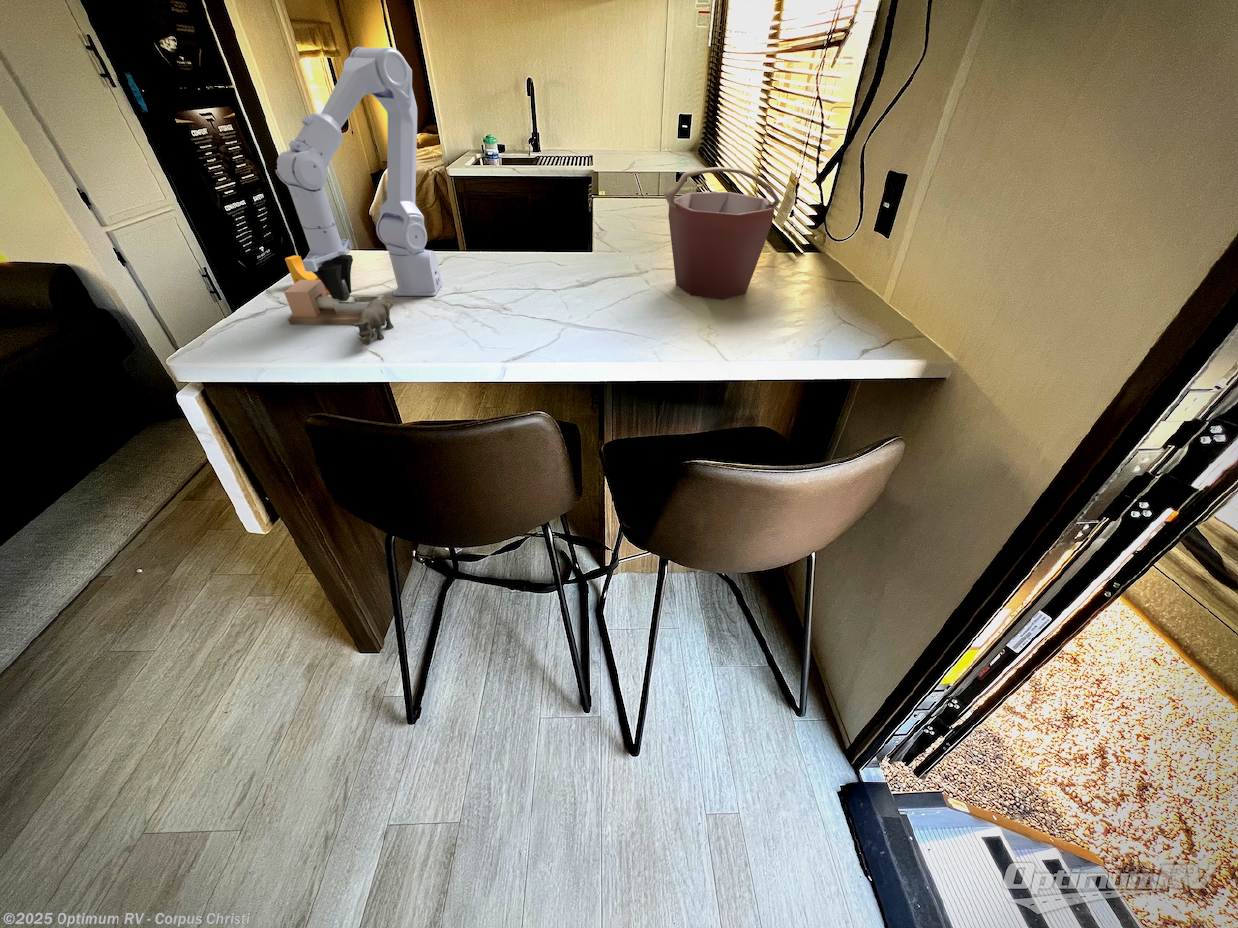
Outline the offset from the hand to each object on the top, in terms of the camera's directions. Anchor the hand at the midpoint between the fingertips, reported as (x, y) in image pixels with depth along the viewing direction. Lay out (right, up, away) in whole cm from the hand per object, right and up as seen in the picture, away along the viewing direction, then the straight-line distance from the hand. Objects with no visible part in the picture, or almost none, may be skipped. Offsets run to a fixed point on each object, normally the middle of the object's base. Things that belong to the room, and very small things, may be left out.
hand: (342, 296), depth 105 cm
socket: (-7, -2, +2) cm, 8 cm away
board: (-2, -3, +2) cm, 4 cm away
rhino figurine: (+10, -10, -6) cm, 15 cm away
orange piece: (-13, +7, +15) cm, 21 cm away
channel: (+3, -2, +2) cm, 4 cm away
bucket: (+79, +9, +19) cm, 82 cm away
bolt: (-3, -2, +2) cm, 4 cm away
